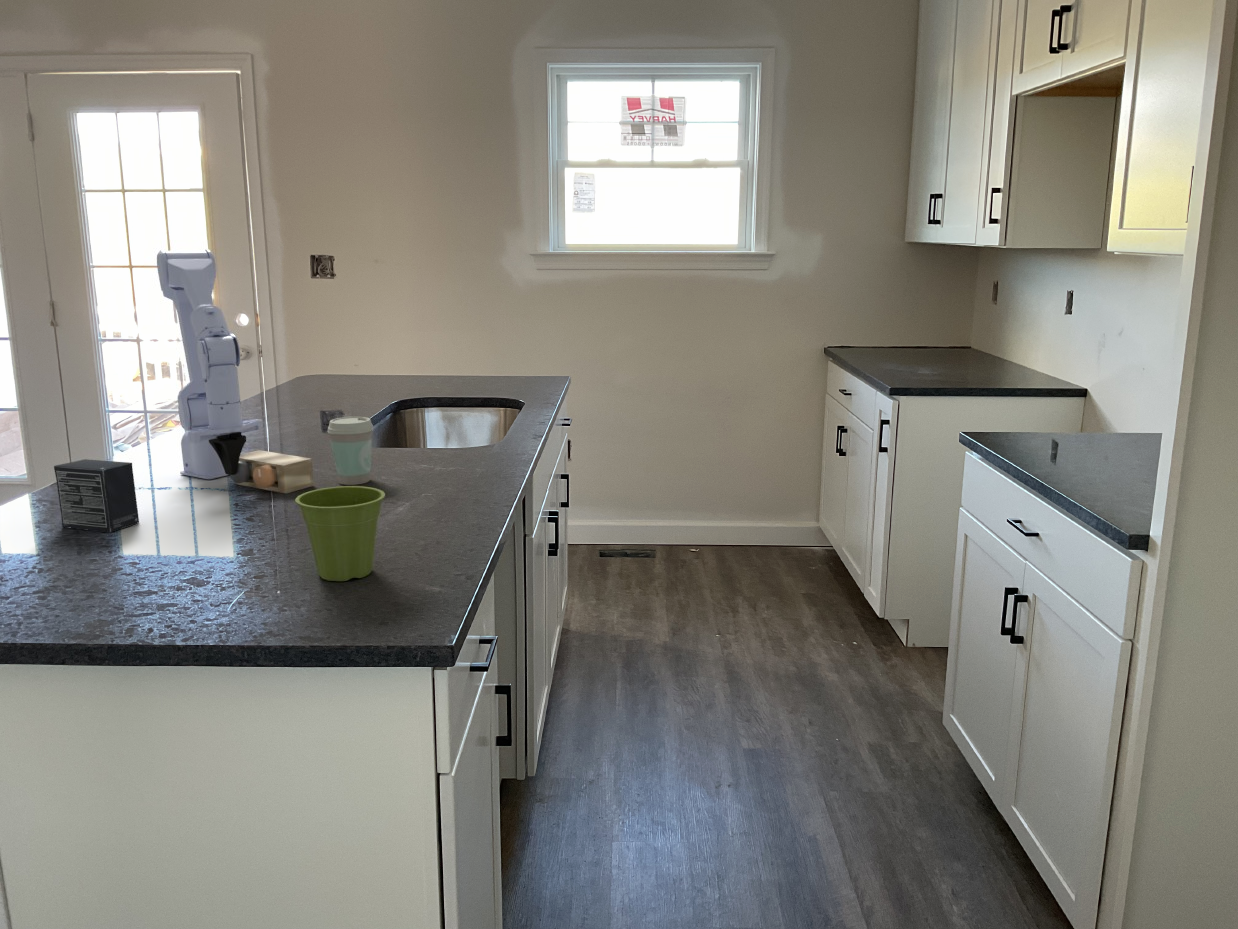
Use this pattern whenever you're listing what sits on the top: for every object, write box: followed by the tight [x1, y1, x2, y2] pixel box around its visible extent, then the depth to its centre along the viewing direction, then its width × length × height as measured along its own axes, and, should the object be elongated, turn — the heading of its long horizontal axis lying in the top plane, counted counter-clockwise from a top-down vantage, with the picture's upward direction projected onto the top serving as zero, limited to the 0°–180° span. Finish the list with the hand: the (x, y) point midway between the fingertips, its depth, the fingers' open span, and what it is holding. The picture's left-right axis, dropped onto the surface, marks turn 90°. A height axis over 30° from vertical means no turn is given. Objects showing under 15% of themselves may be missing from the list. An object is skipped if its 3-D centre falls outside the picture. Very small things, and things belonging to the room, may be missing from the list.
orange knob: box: [253, 465, 278, 489], centre depth 180 cm, size 7×4×4 cm, turn 148°
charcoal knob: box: [229, 461, 253, 483], centre depth 184 cm, size 7×4×4 cm, turn 148°
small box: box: [53, 458, 140, 533], centre depth 158 cm, size 11×6×10 cm, turn 71°
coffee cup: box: [327, 416, 375, 486], centre depth 185 cm, size 9×8×12 cm
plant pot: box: [294, 485, 386, 582], centre depth 134 cm, size 12×12×11 cm
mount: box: [232, 449, 314, 494], centre depth 184 cm, size 15×6×5 cm, turn 58°
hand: (231, 474), depth 181 cm, fingers closed
